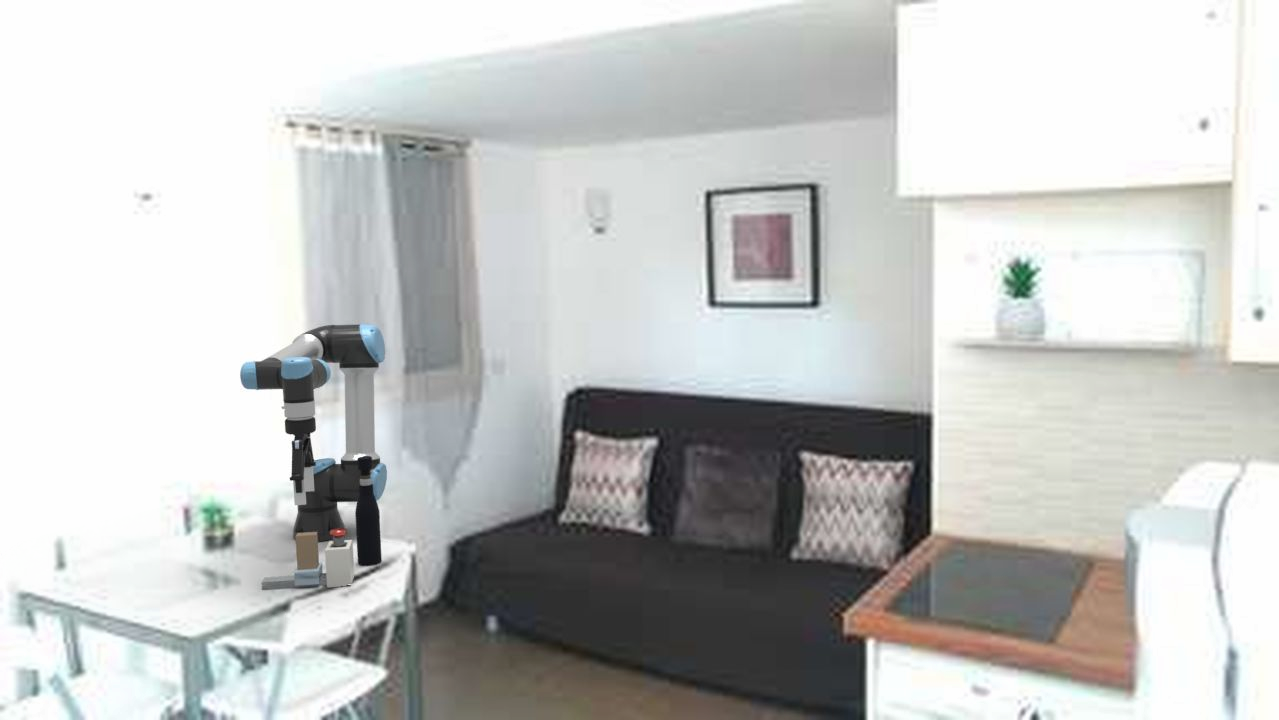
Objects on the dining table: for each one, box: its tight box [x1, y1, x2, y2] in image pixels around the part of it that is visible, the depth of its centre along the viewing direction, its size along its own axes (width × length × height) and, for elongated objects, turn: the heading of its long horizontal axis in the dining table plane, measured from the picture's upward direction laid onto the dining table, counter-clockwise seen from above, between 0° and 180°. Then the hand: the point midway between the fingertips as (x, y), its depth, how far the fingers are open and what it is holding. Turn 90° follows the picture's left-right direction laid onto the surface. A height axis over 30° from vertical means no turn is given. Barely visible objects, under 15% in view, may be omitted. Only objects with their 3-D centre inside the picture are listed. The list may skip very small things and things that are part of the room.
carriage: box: [293, 532, 324, 586], centre depth 258 cm, size 7×6×12 cm
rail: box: [261, 572, 327, 590], centre depth 258 cm, size 4×16×2 cm, turn 100°
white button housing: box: [324, 539, 355, 589], centre depth 259 cm, size 8×6×10 cm
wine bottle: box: [354, 456, 383, 567], centre depth 274 cm, size 6×6×30 cm
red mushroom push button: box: [330, 527, 347, 547], centre depth 259 cm, size 4×4×7 cm
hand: (304, 497), depth 256 cm, fingers open, 13 cm apart
